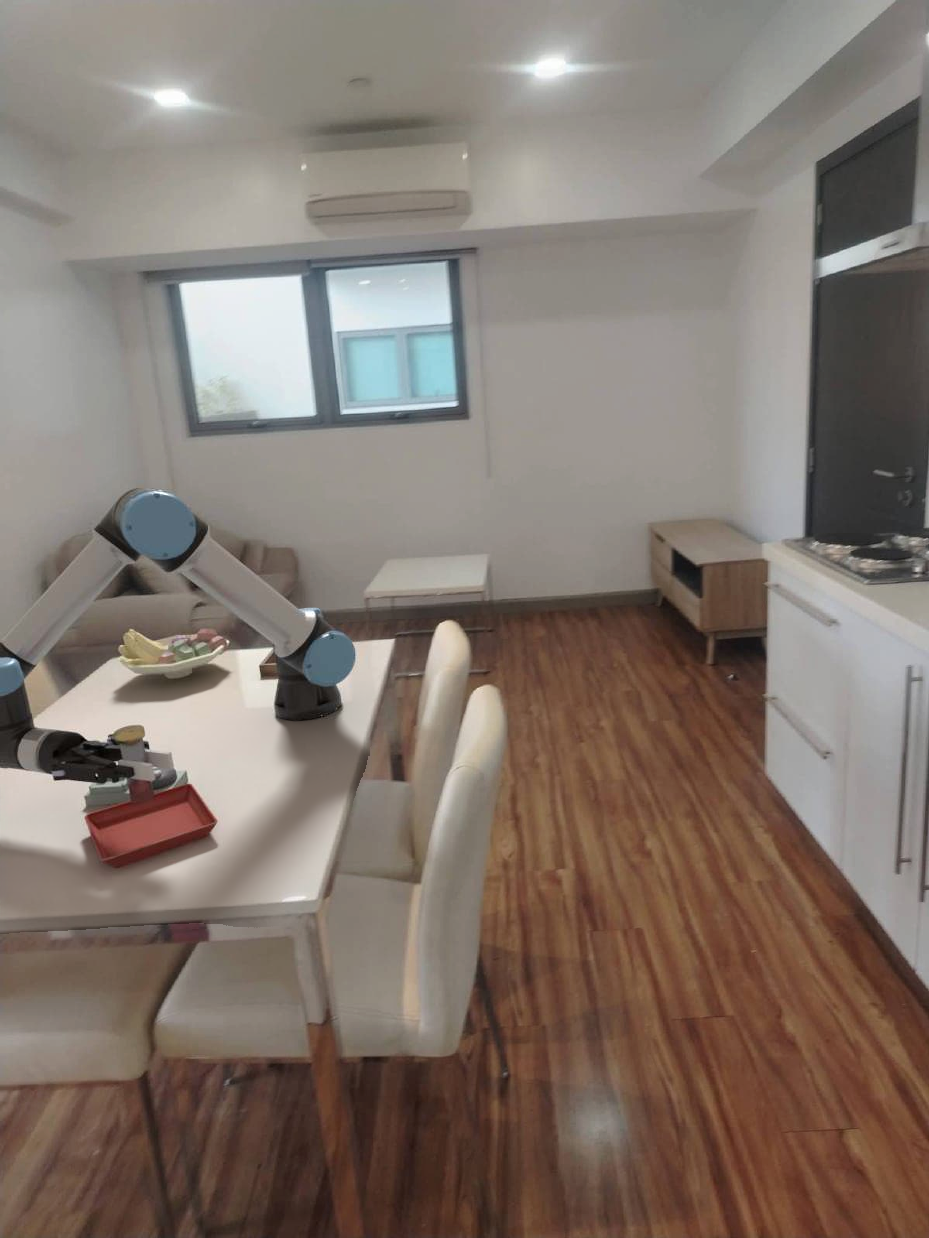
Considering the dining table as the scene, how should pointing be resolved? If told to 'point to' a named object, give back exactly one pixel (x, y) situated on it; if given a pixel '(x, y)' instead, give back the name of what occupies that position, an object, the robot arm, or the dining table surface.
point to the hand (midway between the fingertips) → (161, 766)
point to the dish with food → (170, 652)
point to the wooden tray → (268, 665)
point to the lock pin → (134, 751)
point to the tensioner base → (120, 791)
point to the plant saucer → (150, 825)
